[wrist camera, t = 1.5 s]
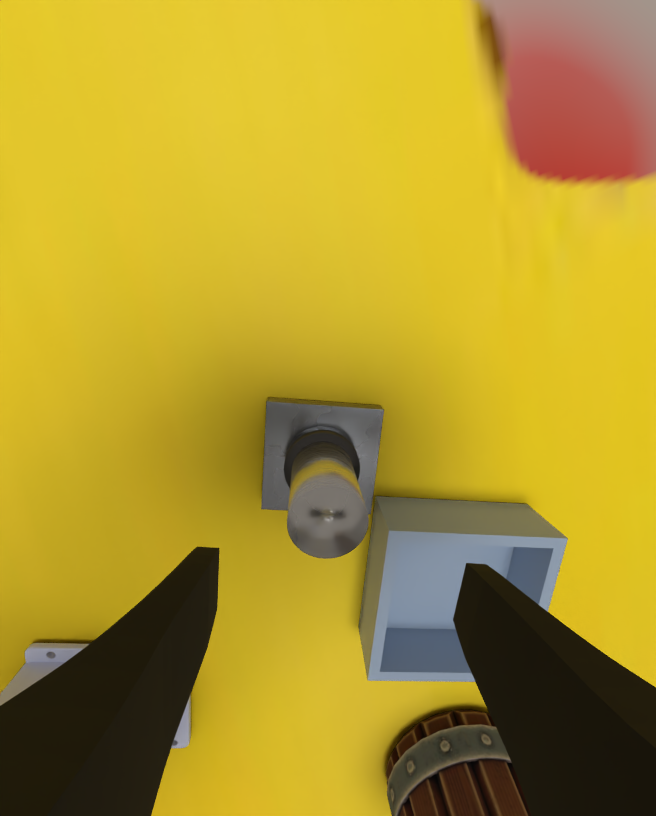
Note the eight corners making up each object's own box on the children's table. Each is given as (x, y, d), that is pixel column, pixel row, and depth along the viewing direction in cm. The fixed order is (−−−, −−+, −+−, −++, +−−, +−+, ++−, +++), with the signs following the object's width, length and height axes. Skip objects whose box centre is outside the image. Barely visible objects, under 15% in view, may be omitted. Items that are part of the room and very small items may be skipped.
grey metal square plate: (263, 500, 21) (261, 509, 20) (268, 397, 19) (266, 401, 18) (367, 505, 21) (370, 514, 20) (380, 405, 20) (384, 409, 19)
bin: (358, 627, 23) (367, 680, 20) (375, 496, 21) (389, 530, 18) (496, 630, 24) (528, 682, 20) (526, 503, 22) (567, 538, 18)
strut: (282, 491, 19) (273, 565, 14) (287, 423, 19) (279, 472, 13) (352, 495, 20) (372, 569, 14) (360, 428, 19) (385, 478, 13)
